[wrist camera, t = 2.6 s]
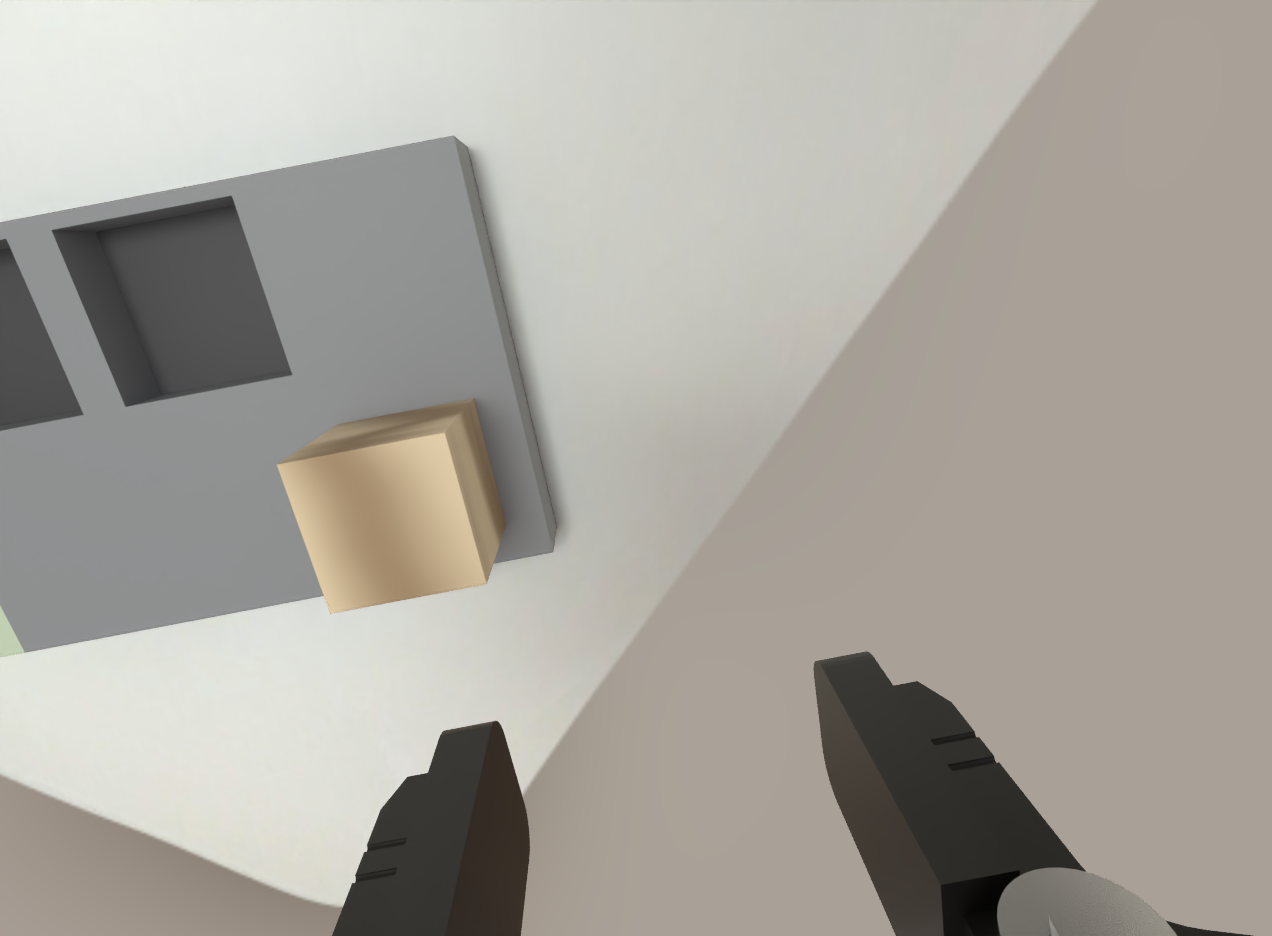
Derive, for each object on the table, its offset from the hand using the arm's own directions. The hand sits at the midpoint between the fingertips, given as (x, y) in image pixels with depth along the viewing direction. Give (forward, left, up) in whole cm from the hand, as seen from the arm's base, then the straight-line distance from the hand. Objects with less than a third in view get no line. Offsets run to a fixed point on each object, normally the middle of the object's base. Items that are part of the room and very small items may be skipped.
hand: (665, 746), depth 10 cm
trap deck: (+17, -4, -19) cm, 26 cm away
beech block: (+7, 0, -17) cm, 18 cm away
